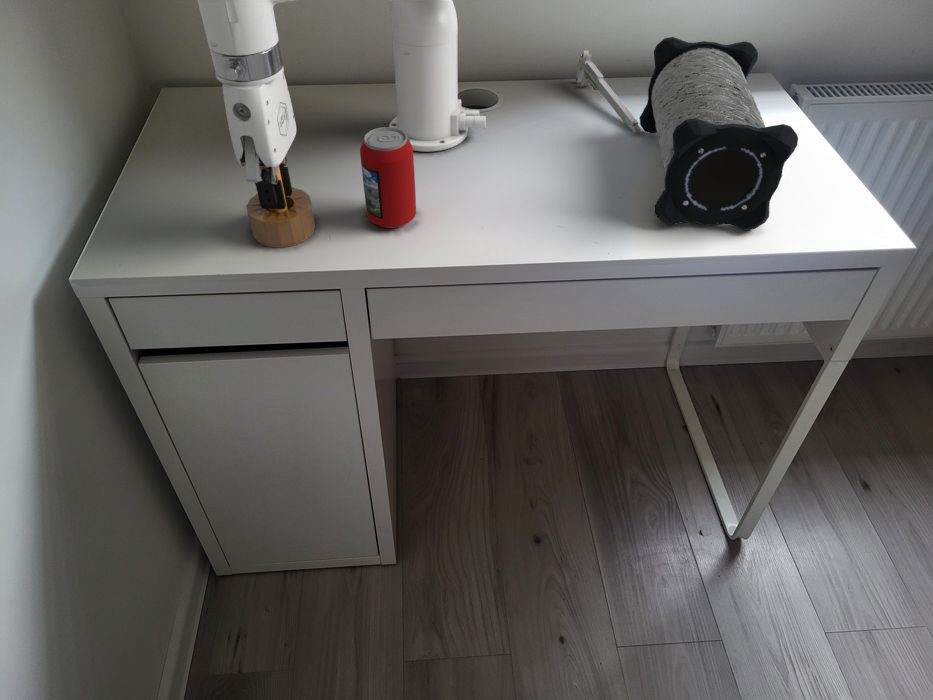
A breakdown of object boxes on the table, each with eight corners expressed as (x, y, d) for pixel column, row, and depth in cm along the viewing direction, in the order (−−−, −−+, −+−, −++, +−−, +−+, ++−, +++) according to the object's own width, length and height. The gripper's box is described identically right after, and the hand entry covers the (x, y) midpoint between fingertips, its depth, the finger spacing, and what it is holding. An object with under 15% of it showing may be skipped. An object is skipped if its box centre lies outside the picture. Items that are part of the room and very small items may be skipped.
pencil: (292, 218, 95) (280, 157, 89) (287, 228, 93) (275, 167, 87) (274, 217, 95) (261, 157, 89) (269, 227, 94) (255, 166, 87)
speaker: (729, 132, 114) (759, 38, 104) (765, 237, 94) (807, 134, 84) (636, 126, 115) (656, 31, 104) (652, 229, 95) (678, 125, 84)
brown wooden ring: (321, 213, 98) (317, 188, 95) (306, 249, 92) (301, 223, 89) (263, 210, 98) (257, 185, 96) (245, 245, 93) (238, 220, 90)
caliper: (574, 83, 127) (579, 47, 123) (580, 82, 128) (584, 46, 123) (635, 134, 114) (642, 97, 110) (641, 133, 114) (648, 96, 110)
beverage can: (367, 205, 99) (358, 125, 91) (415, 203, 100) (411, 123, 91) (367, 233, 95) (357, 151, 86) (417, 231, 95) (413, 149, 87)
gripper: (259, 92, 73) (289, 239, 86) (298, 33, 84) (320, 170, 97) (188, 89, 74) (228, 235, 86) (237, 30, 85) (266, 167, 98)
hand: (276, 200), depth 92 cm, fingers closed on pencil, 2 cm apart
